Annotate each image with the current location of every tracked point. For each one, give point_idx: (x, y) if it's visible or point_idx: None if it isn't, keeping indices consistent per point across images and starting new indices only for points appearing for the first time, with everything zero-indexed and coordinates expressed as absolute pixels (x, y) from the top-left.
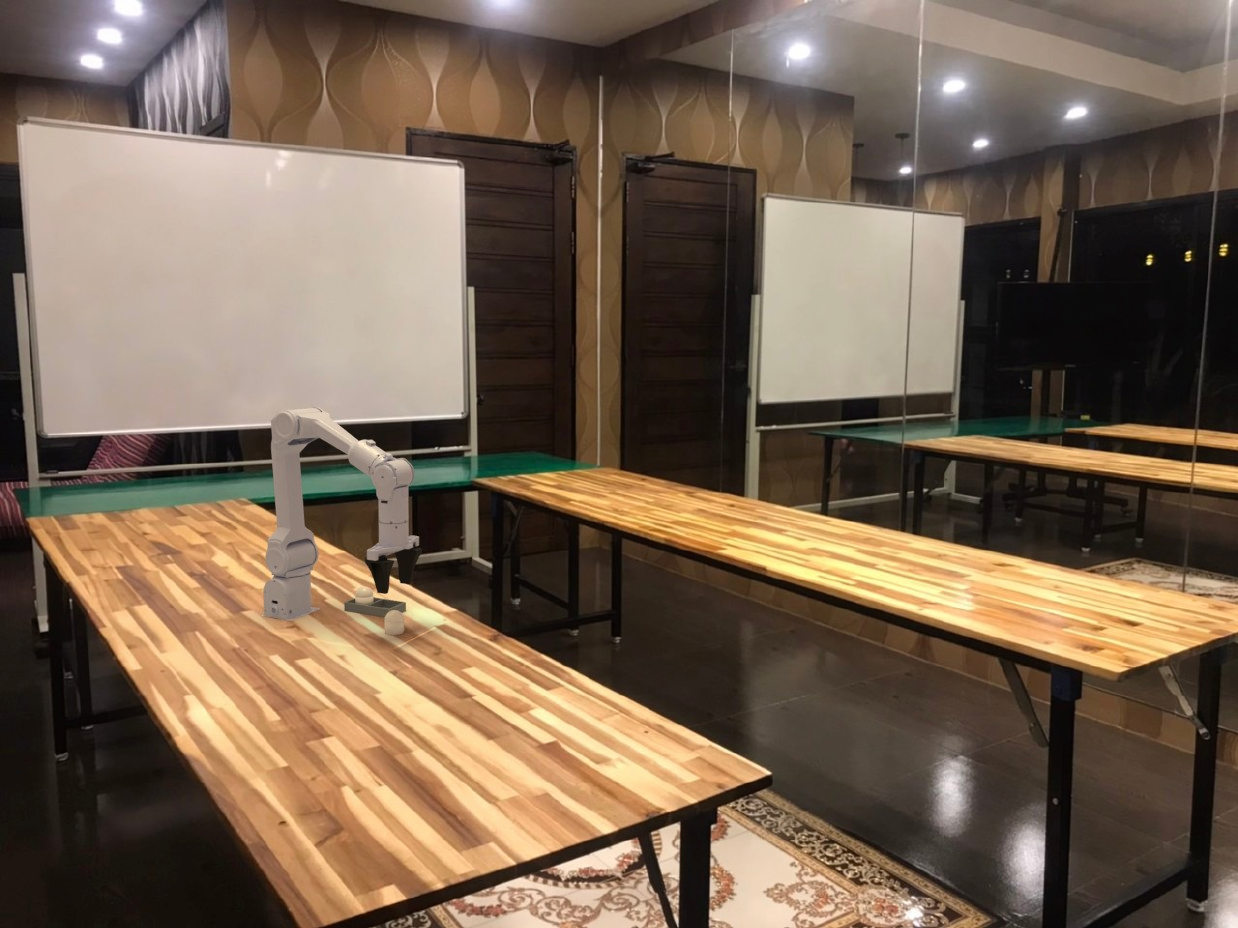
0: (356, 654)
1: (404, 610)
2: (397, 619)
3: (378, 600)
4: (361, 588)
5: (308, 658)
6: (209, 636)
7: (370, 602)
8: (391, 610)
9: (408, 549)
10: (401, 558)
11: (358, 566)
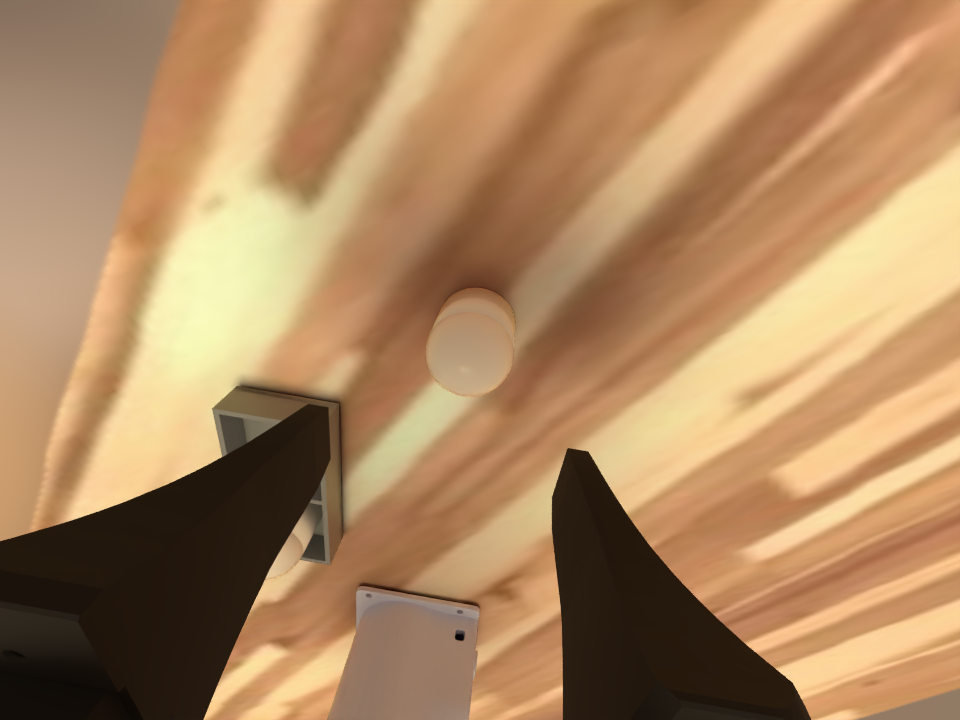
0: (729, 358)
1: (240, 392)
2: (497, 331)
3: None
4: (271, 572)
5: (778, 474)
6: None
7: None
8: (461, 387)
9: (110, 695)
10: (223, 619)
11: None
